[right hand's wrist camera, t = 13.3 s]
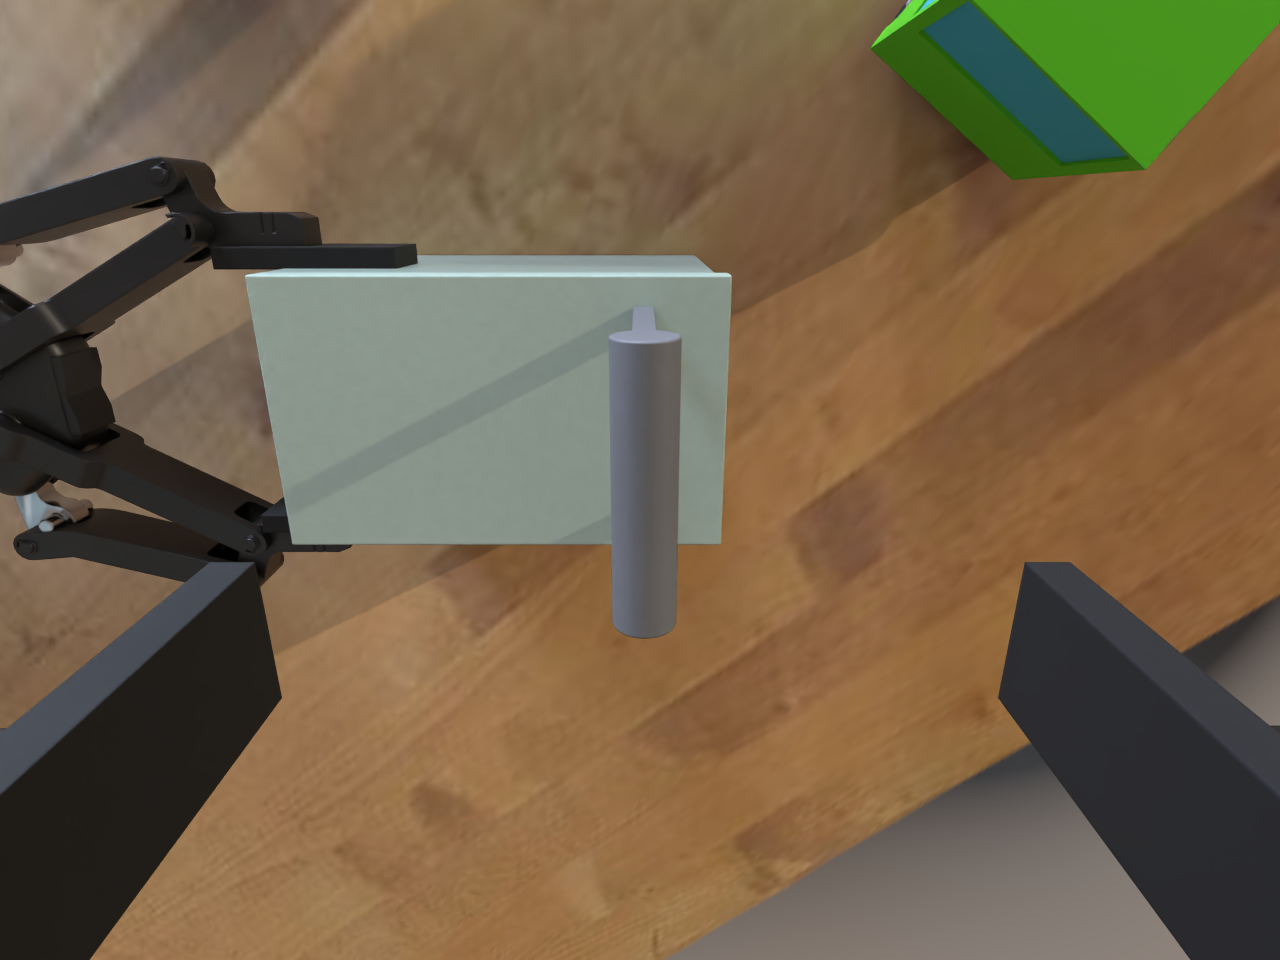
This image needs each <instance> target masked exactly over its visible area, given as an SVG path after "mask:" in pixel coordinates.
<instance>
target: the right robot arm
mask: <svg viewBox="0 0 1280 960" xmlns="http://www.w3.org/2000/svg"><path fill="white" fill-rule="evenodd" d="M281 698H282V696H281V691H280V686H279V681H278V676H277V670H276V665H275V660H274V655H273V650H272V645H271V640H270V635H269V630H268V625H267V620H266V615H265V610H264V605H263V600H262V595H261V590H260V585H259V580H258V574H257V569H256V564H255V562H210V563H209V564H207V565H206V566H205V567H204V568H202V569H201V570H200V571H199V572H198V573H196V574H195V575H194V576H193V577H191V578H190V579H189V580H188V581H187V582H185V583H184V584H183V585H182V586H180V587H179V588H178V589H177V590H176V591H174V592H173V593H172V594H171V595H169V596H168V597H167V598H166V599H165V600H163V601H162V602H161V603H160V604H158V605H157V606H156V607H155V608H154V609H152V610H151V611H150V612H149V613H147V614H146V615H145V616H144V617H143V618H141V619H140V620H139V621H138V622H136V623H135V624H134V625H133V626H132V627H130V628H129V629H128V630H127V631H125V632H124V633H123V634H122V635H121V636H119V637H118V638H117V639H116V640H114V641H113V642H112V643H111V644H110V645H108V646H107V647H106V648H105V649H104V650H102V651H101V652H100V653H99V654H97V655H96V656H95V657H94V658H93V659H91V660H90V661H89V662H88V663H86V664H85V665H84V666H83V667H82V668H80V669H79V670H78V671H77V672H75V673H74V674H73V675H72V676H71V677H69V678H68V679H67V680H66V681H64V682H63V683H62V684H61V685H60V686H58V687H57V688H56V689H55V690H53V691H52V692H51V693H50V694H49V695H47V696H46V697H45V698H44V699H42V700H41V701H40V702H39V703H38V704H36V705H35V706H34V707H33V708H31V709H30V710H29V711H28V712H27V713H25V714H24V715H23V716H22V717H20V718H19V719H18V720H17V721H16V722H14V723H13V724H12V725H11V726H9V727H8V728H0V960H90V958H91V957H92V956H93V954H94V953H95V952H96V950H97V949H98V947H99V946H100V945H101V943H102V942H103V941H104V939H105V938H106V937H107V935H108V934H109V933H110V931H111V930H112V928H113V927H114V926H115V924H116V923H117V922H118V920H119V919H120V918H121V916H122V915H123V913H124V912H125V911H126V909H127V908H128V907H129V905H130V904H131V903H132V901H133V900H134V898H135V897H136V896H137V894H138V893H139V892H140V890H141V889H142V888H143V886H144V885H145V884H146V882H147V881H148V879H149V878H150V877H151V875H152V874H153V873H154V871H155V870H156V869H157V867H158V866H159V864H160V863H161V862H162V860H163V859H164V858H165V856H166V855H167V854H168V852H169V851H170V849H171V848H172V847H173V845H174V844H175V843H176V841H177V840H178V839H179V837H180V836H181V834H182V833H183V832H184V830H185V829H186V828H187V826H188V825H189V824H190V822H191V821H192V820H193V818H194V817H195V815H196V814H197V813H198V811H199V810H200V809H201V807H202V806H203V805H204V803H205V802H206V800H207V799H208V798H209V796H210V795H211V794H212V792H213V791H214V790H215V788H216V787H217V785H218V784H219V783H220V781H221V780H222V779H223V777H224V776H225V775H226V773H227V772H228V770H229V769H230V768H231V766H232V765H233V764H234V762H235V761H236V760H237V758H238V757H239V756H240V754H241V753H242V751H243V750H244V749H245V747H246V746H247V745H248V743H249V742H250V741H251V739H252V738H253V736H254V735H255V734H256V732H257V731H258V730H259V728H260V727H261V726H262V724H263V723H264V721H265V720H266V719H267V717H268V716H269V715H270V713H271V712H272V711H273V709H274V708H275V707H276V705H277V704H278V702H279V701H280V700H281ZM998 698H999V700H1000V701H1001V702H1002V704H1003V705H1004V707H1005V708H1006V709H1007V711H1008V712H1009V713H1010V715H1011V716H1012V717H1013V719H1014V720H1015V721H1016V723H1017V724H1018V726H1019V727H1020V728H1021V730H1022V731H1023V732H1024V734H1025V735H1026V736H1027V738H1028V739H1029V741H1030V742H1031V743H1032V745H1033V746H1034V747H1035V749H1036V750H1037V751H1038V753H1039V754H1040V756H1041V757H1042V758H1043V760H1044V761H1045V762H1046V764H1047V765H1048V766H1049V768H1050V769H1051V771H1052V772H1053V773H1054V775H1055V776H1056V777H1057V779H1058V780H1059V781H1060V783H1061V784H1062V785H1063V787H1064V788H1065V789H1066V791H1067V792H1068V794H1069V795H1070V796H1071V798H1072V799H1073V800H1074V802H1075V803H1076V804H1077V806H1078V807H1079V809H1080V810H1081V811H1082V813H1083V814H1084V815H1085V817H1086V818H1087V820H1088V821H1089V822H1090V824H1091V825H1092V826H1093V828H1094V829H1095V830H1096V832H1097V833H1098V834H1099V836H1100V837H1101V839H1102V840H1103V841H1104V843H1105V844H1106V845H1107V847H1108V848H1109V849H1110V851H1111V852H1112V854H1113V855H1114V856H1115V858H1116V859H1117V860H1118V862H1119V863H1120V864H1121V866H1122V867H1123V869H1124V870H1125V871H1126V873H1127V874H1128V875H1129V877H1130V878H1131V879H1132V881H1133V882H1134V883H1135V885H1136V886H1137V888H1138V889H1139V890H1140V892H1141V893H1142V894H1143V896H1144V897H1145V898H1146V900H1147V901H1148V902H1149V904H1150V905H1151V907H1152V908H1153V909H1154V911H1155V912H1156V913H1157V915H1158V916H1159V918H1160V919H1161V920H1162V922H1163V923H1164V924H1165V926H1166V927H1167V928H1168V930H1169V931H1170V933H1171V934H1172V935H1173V937H1174V938H1175V939H1176V941H1177V942H1178V943H1179V945H1180V946H1181V947H1182V949H1183V950H1184V952H1185V953H1186V954H1187V956H1188V957H1189V958H1190V960H1280V726H1269V725H1268V724H1267V723H1266V722H1264V721H1263V720H1262V719H1261V718H1260V717H1258V716H1257V715H1256V714H1255V713H1253V712H1252V711H1251V710H1250V709H1249V708H1247V707H1246V706H1245V705H1244V704H1242V703H1241V702H1240V701H1239V700H1238V699H1236V698H1235V697H1234V696H1233V695H1231V694H1230V693H1229V692H1228V691H1227V690H1225V689H1224V688H1223V687H1222V686H1220V685H1219V684H1218V683H1217V682H1215V681H1214V680H1213V679H1212V678H1211V677H1209V676H1208V675H1207V674H1206V673H1205V672H1203V671H1202V670H1201V669H1200V668H1198V667H1197V666H1196V665H1195V664H1194V663H1192V662H1191V661H1190V660H1189V659H1187V658H1186V657H1185V656H1184V655H1183V654H1181V653H1180V652H1179V651H1178V650H1176V649H1175V648H1174V647H1173V646H1172V645H1170V644H1169V643H1168V642H1167V641H1166V640H1164V639H1163V638H1162V637H1161V636H1159V635H1158V634H1157V633H1156V632H1155V631H1153V630H1152V629H1151V628H1150V627H1148V626H1147V625H1146V624H1145V623H1144V622H1142V621H1141V620H1140V619H1139V618H1137V617H1136V616H1135V615H1134V614H1133V613H1131V612H1130V611H1129V610H1128V609H1126V608H1125V607H1124V606H1123V605H1122V604H1120V603H1119V602H1118V601H1117V600H1115V599H1114V598H1113V597H1112V596H1111V595H1109V594H1108V593H1107V592H1106V591H1104V590H1103V589H1102V588H1101V587H1100V586H1098V585H1097V584H1096V583H1095V582H1093V581H1092V580H1091V579H1090V578H1089V577H1087V576H1086V575H1085V574H1084V573H1082V572H1081V571H1080V570H1079V569H1078V568H1076V567H1075V566H1074V565H1073V564H1071V563H1070V562H1025V564H1024V569H1023V574H1022V580H1021V585H1020V590H1019V595H1018V600H1017V605H1016V610H1015V615H1014V620H1013V625H1012V630H1011V635H1010V640H1009V645H1008V650H1007V655H1006V660H1005V665H1004V670H1003V676H1002V681H1001V686H1000V691H999V696H998Z"/></svg>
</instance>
